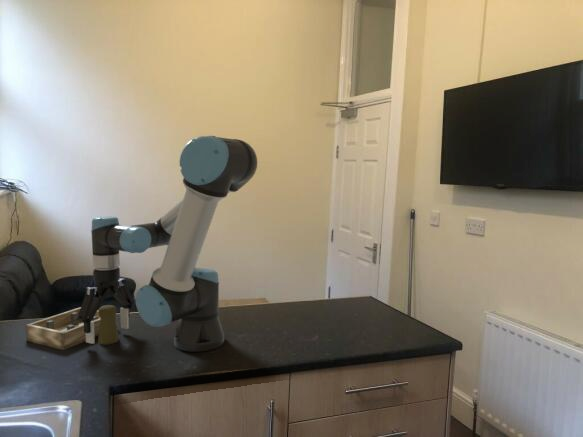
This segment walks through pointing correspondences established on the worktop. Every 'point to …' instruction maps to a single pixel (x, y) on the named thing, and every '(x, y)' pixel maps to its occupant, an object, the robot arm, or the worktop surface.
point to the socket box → (61, 330)
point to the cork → (107, 325)
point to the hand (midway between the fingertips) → (108, 335)
